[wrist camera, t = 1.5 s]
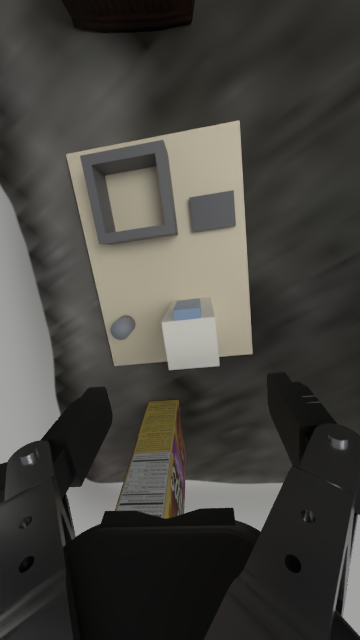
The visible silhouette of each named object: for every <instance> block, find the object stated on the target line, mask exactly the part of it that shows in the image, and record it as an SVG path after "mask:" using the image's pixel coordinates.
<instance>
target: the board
mask: <svg viewBox="0 0 360 640" xmlns="http://www.w3.org/2000/svg"><path fill="white" fill-rule="evenodd" d="M66 156H67V161H68V165H69V169H70V174H71V178H72V183H73V187H74V191H75V196H76V200H77V204H78V209H79V213H80V218H81V222H82V226H83V231H84V235H85V239H86V244H87V248H88V253H89V257H90V261H91V266H92V270H93V274H94V279H95V283H96V288H97V292H98V296H99V301H100V305H101V309H102V314H103V318H104V323H105V327H106V331H107V336H108V340H109V345H110V349H111V353H112V358H113V362H114V366H121V365H133V364H144V363H155V362H167V354H166V348H165V342H164V336H163V330H162V323H161V322H162V320H163V318H164V316H165V314H166V312H167V311H168V309H169V307H170V305H171V303H172V301H174V300H182V299H191V298H199V297H208V296H210V297H211V302H212V306H213V311H214V315H215V323H216V333H217V344H218V354H219V357H223V356H234V355H246V354H253V352H252V334H251V316H250V299H249V281H248V263H247V245H246V227H245V210H244V192H243V174H242V156H241V138H240V121H234V122H229V123H224V124H219V125H213V126H208V127H203V128H198V129H193V130H188V131H183V132H178V133H172V134H167V135H162V136H157V137H152V138H147V139H142V140H137V141H131V142H126V143H121V144H116V145H111V146H106V147H101V148H96V149H90V150H85V151H80V152H75V153H70V154H66Z"/></svg>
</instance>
